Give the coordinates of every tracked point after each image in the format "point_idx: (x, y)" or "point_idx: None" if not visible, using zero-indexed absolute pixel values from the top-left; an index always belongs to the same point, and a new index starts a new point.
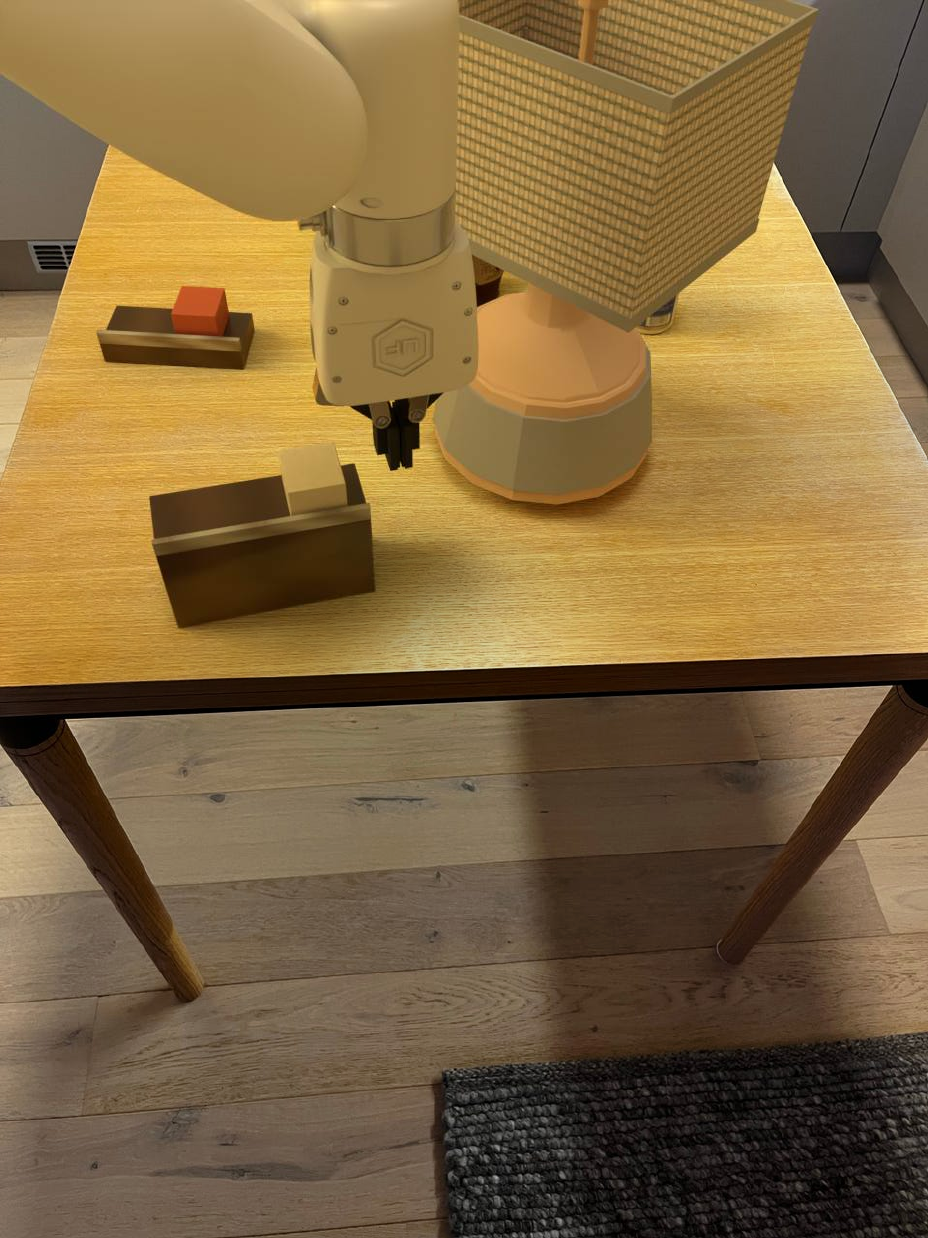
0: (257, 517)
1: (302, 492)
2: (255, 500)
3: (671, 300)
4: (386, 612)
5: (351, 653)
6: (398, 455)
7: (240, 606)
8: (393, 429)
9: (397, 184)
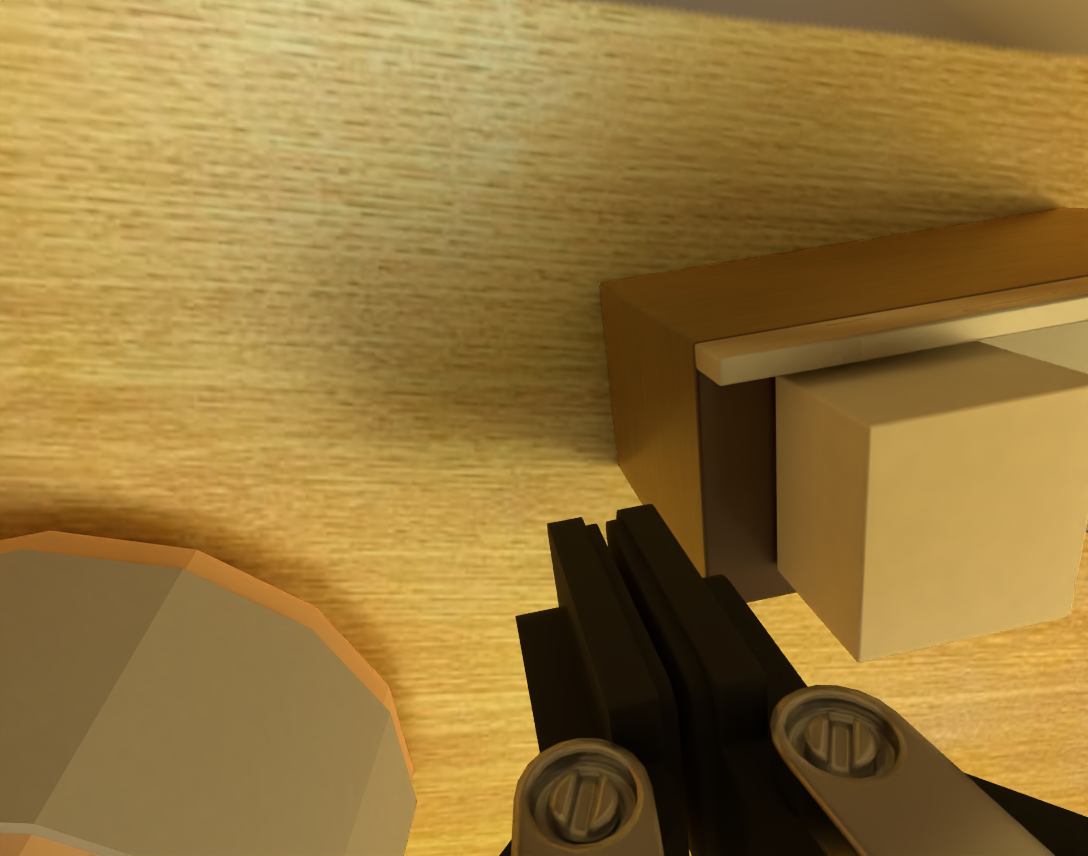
0: None
1: (1044, 388)
2: None
3: None
4: (576, 206)
5: (683, 66)
6: (635, 558)
7: (948, 232)
8: (737, 677)
9: None
